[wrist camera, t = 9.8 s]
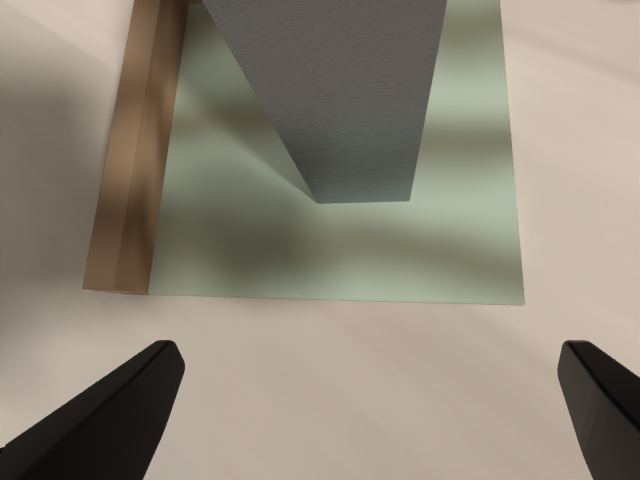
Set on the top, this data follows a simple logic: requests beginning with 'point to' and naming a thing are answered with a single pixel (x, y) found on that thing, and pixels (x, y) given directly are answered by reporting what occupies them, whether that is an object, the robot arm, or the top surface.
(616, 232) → the top surface
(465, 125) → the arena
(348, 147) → the bar
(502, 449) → the top surface
